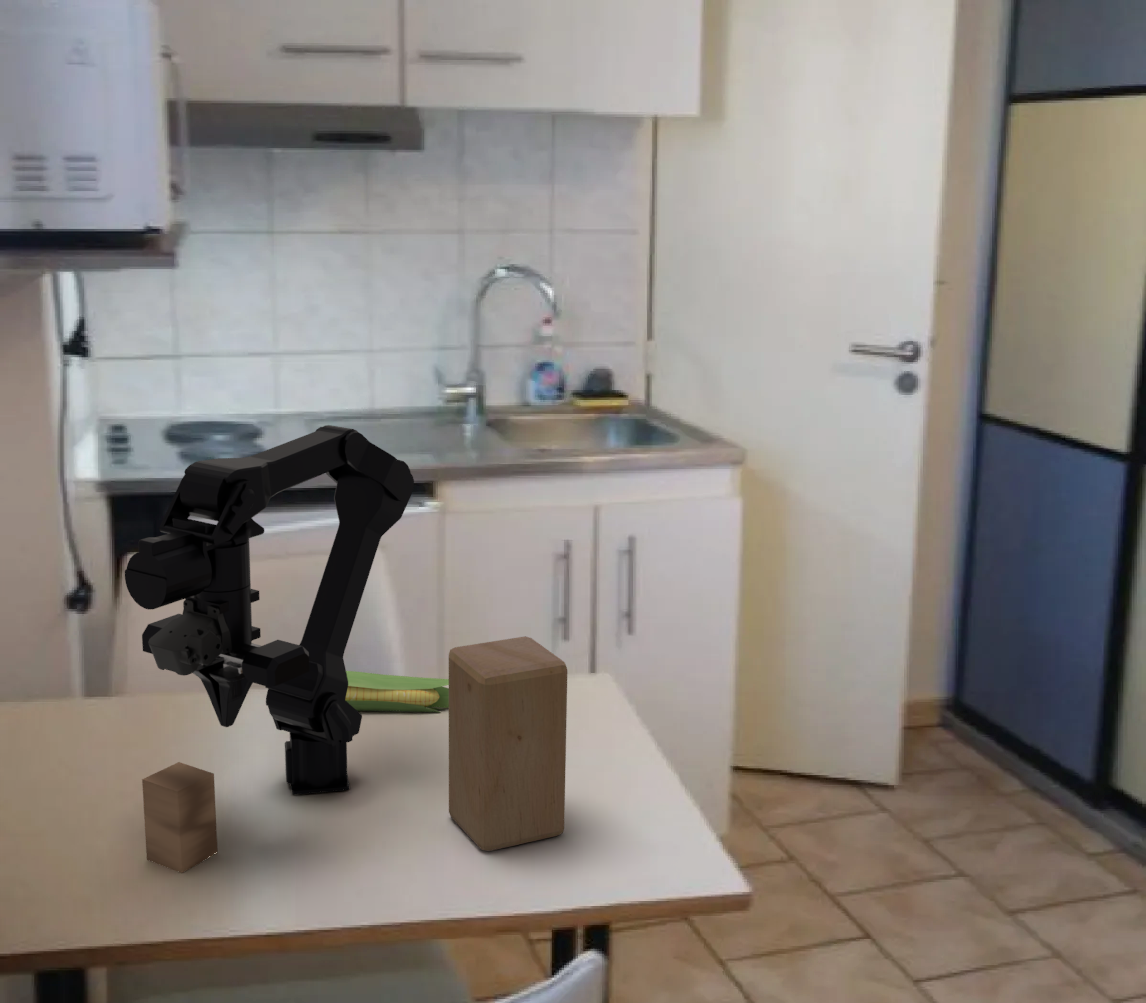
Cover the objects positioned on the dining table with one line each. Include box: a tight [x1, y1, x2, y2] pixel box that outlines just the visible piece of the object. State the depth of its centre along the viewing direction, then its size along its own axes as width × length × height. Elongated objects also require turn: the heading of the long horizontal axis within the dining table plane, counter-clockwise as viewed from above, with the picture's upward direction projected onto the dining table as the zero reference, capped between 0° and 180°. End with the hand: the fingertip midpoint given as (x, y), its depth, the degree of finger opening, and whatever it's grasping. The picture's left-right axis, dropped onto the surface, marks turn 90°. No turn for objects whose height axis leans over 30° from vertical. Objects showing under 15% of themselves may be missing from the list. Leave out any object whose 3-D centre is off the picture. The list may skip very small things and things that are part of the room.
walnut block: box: [141, 761, 218, 874], centre depth 151 cm, size 5×5×9 cm
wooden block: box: [448, 636, 568, 852], centre depth 158 cm, size 10×10×20 cm
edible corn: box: [345, 670, 449, 713], centre depth 191 cm, size 5×20×5 cm
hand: (227, 725), depth 155 cm, fingers closed
